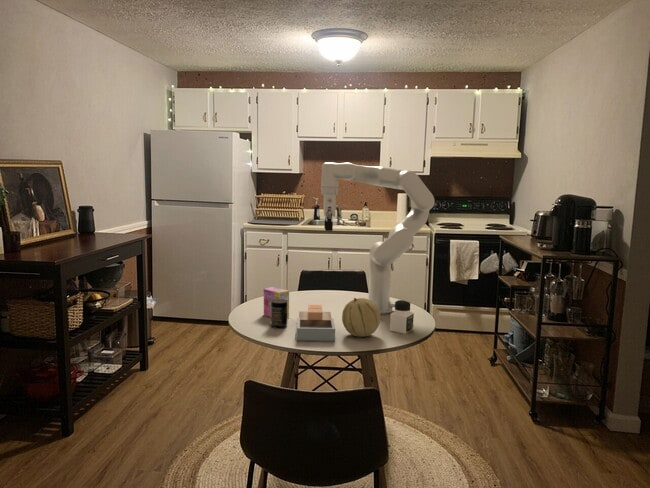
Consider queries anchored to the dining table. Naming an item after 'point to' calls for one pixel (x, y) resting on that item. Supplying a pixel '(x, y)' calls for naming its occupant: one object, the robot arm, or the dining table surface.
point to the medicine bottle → (401, 317)
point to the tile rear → (314, 307)
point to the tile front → (315, 314)
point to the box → (274, 294)
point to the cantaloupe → (361, 317)
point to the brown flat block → (324, 322)
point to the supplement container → (279, 313)
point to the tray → (315, 333)
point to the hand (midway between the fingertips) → (328, 229)
